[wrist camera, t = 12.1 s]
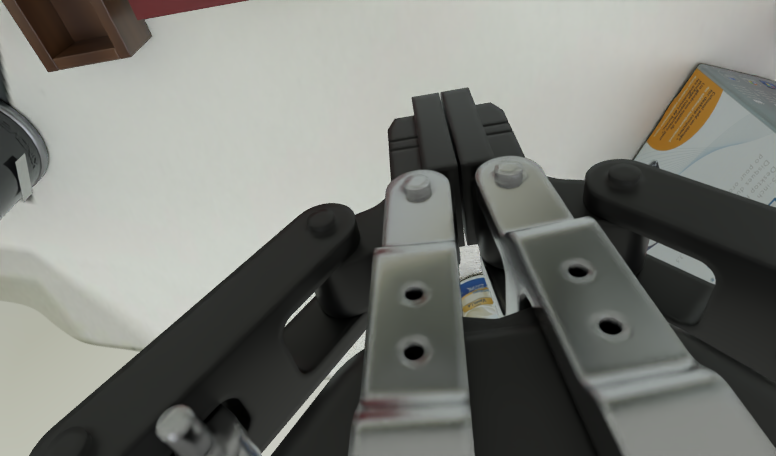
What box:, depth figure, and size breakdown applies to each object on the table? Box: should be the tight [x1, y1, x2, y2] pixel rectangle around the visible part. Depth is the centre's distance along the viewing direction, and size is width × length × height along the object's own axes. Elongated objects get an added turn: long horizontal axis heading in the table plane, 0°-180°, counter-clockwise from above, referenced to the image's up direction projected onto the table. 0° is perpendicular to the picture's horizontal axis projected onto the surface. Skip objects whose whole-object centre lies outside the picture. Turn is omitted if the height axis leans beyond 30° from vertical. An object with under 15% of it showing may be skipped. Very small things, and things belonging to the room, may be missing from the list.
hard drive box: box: [634, 64, 776, 284], centre depth 35 cm, size 16×8×20 cm, turn 166°
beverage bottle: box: [460, 275, 499, 319], centre depth 47 cm, size 8×8×20 cm
